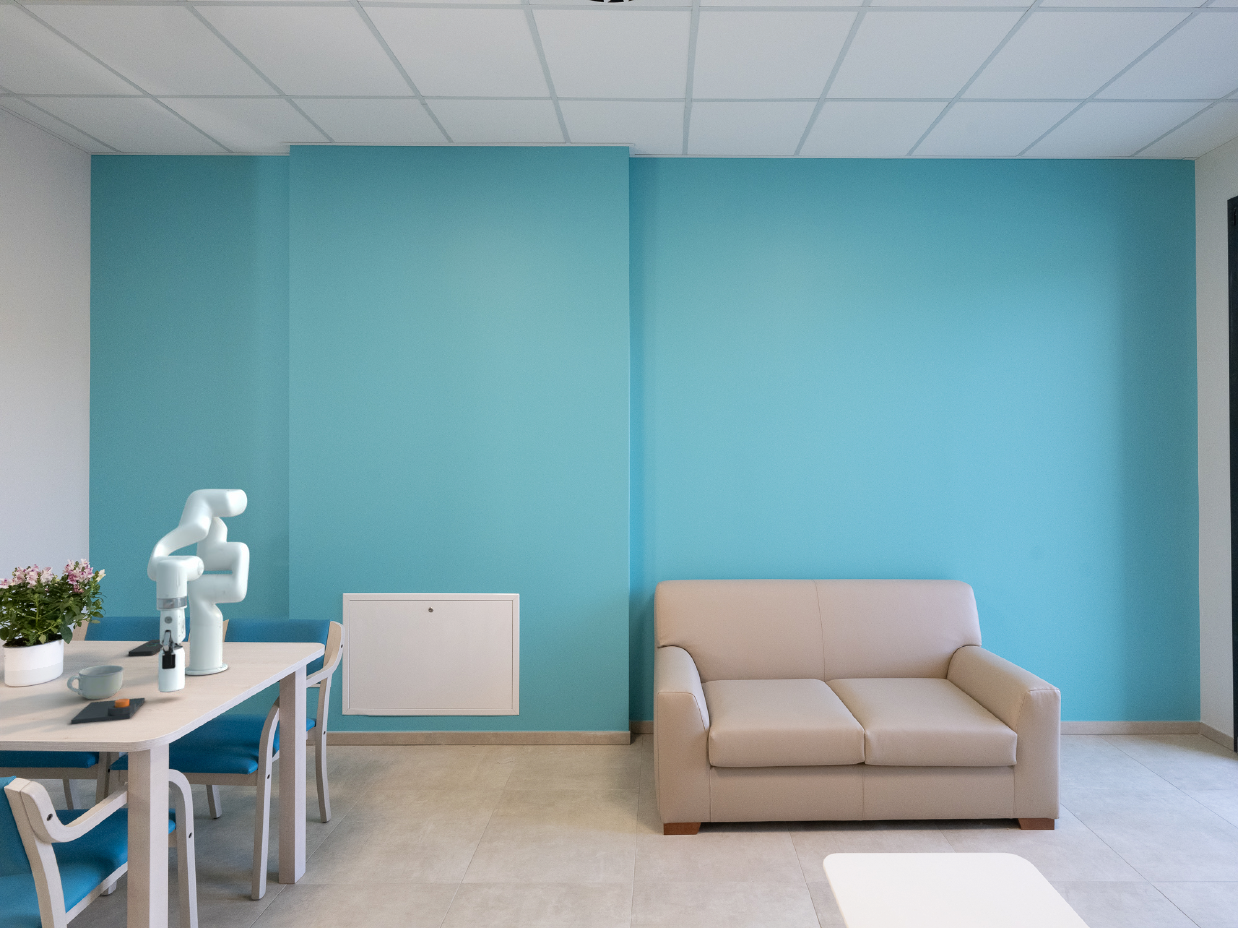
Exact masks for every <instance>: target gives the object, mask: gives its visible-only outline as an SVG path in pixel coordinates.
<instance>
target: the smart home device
mask: <svg viewBox="0 0 1238 928" xmlns="http://www.w3.org/2000/svg"><path fill="white" fill-rule="evenodd" d="M162 647H163V645H161V644H160V638H159V639H150V640H148V641H147V642H144V643H142V644H140V645H139V646H137V647H134V648H132V649H130V650H129V651H128V657H144V656H145V657H148V656H154V655H156V654H159V653H160V651H161V650H160V649H161V648H162Z"/></svg>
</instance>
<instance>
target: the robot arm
mask: <svg viewBox="0 0 1238 928" xmlns="http://www.w3.org/2000/svg"><path fill="white" fill-rule="evenodd" d="M247 506H248V498H247V494H246V492H245V491H244V490H242V489H240V488H202V489H201V488H200V489H197V490H193V492H191V493H190V495H188V497H187V498H186V501H185V504H184V506H183V510H182V512H181V513H182V514H181V517H180V519H179V521H178V526H176V528H174V529H172V530H170V531H169V532H168V533H167V534H165V535H164V536H163V537H162V538H160V539H159V540H158V541H157V542H156V543H155V545H154V546H153V549H152V551H151V554H150V557H149V560H148V563H147V568H146V572H147V577H148V578H149V579H150V580H151V581H153V582H155V583H156V604H155V605H156V610H157V611H160V616H159V639H160V644H161V645H163V652H162V669H174V668H175V660H176V654H174V650H175V645H181V643H182V642H183V641H184V639H185V638H186V617H185V616H186V614H185V609H187V607H188V606H189V660H188V661H189V666H187V667H186V666H185V675H189V676H206V675H213V674H217V673H218V674H219V673H221V672H224V671H226V670H227V669H228V667H229V666H228V665H229V664H227V663H225V662H223V643H224V641H223V639H224V638H223V636H224V635H223V633H224V629H223V628H224V615H223V613H222V611H221V610H220V608H219V607H218V605H216V604H233V603H240V602H242V601H243V600H245V598H246V596H247V592H248V591H247V590H248V581H249V568H250V550H249V546H248V545H247V544H246V543H245V542H241V541H227V538H228V527H227V525H226V523H225V521H223V519H222V518H233V517H236V516H239V515H242V514H243V513H244V512H245V510H246V509H247ZM196 543H197V544H196ZM194 544H196V555H170V554H172V553H174V552H175V551H178V550H179V549H182V548H185V547H189V546H191V545H194ZM204 571H207V572H210V571H211V572H213V571H214V572H216V571H218V572H219V571H220V572H222V571H230V572H232V573H210V574H209V573H208V574H207V573H206V574H204ZM169 646H172V648H171V647H169ZM181 646H182V645H181Z"/></svg>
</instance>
